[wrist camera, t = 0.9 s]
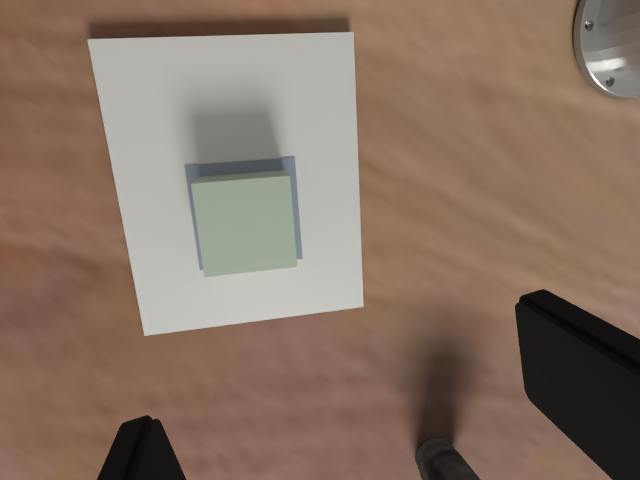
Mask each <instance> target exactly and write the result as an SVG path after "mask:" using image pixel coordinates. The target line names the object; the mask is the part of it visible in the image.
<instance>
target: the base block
mask: <svg viewBox="0 0 640 480" xmlns="http://www.w3.org/2000/svg"><path fill="white" fill-rule="evenodd" d="M191 188H192V195H193V202H194V209H195V216H196V223H197V230H198V237H199V244H200V250H201V257H202V264H203V271H204V277H212V276H221V275H230V274H239V273H247V272H256V271H265V270H274V269H282V268H291V267H297V256H296V244H295V231H294V219H293V206H292V194H291V181H290V175H289V174H288V173H287V172H286V171H284V170H278V171H265V172H253V173H240V174H227V175H214V176H201V177H198V178H197V179H196V180H195V181H193V182H192V183H191Z"/></svg>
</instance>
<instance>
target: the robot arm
mask: <svg viewBox="0 0 640 480" xmlns="http://www.w3.org/2000/svg"><path fill="white" fill-rule="evenodd" d="M574 49H575V55H576V60H577V62H578V65H579V67H580V70H581V72H582V74H583V75H584V77H585V78H586V80H587V81H588V82H589V83H590V84H591V85H592V86H593V87H594V88H595V89H596V90H598V91H599V92H601V93H603V94H604V95H607V96H610V97H614V98H633V97H640V0H581V1H580V3H579V7H578V10H577V14H576V17H575V25H574ZM515 312H516V321H517V329H518V338H519V346H520V355H521V363H522V372H523V380H524V388H525V392H526V394H527V396H528V398H529V399H530V401H531V402H532V403H533V404H534V405H535V406H536V407H537V408H538V409H539V410H540V411H541V412H542V413H543V414H544V415H545V416H546V417H547V418H549V419H550V420H551V421H552V422H553V423H554V424H555V425H556V426H557V427H558V428H559V429H560V430H561V431H562V432H563V433H564V434H565V435H566V436H567V437H568V438H570V439H571V440H572V441H573V442H574V443H575V444H576V445H577V446H578V447H579V448H580V449H581V450H582V451H583V452H584V453H585V454H586V455H587V456H588V457H589V458H591V459H592V460H593V461H594V462H595V463H596V464H597V465H598V466H599V467H600V468H601V469H602V470H603V471H604V472H605V473H606V474H607V475H608V476H609V477H610V478H612V479H613V480H640V339H638V338H636V337H634V336H632V335H630V334H628V333H626V332H625V331H623V330H621V329H619V328H617V327H615V326H613V325H611V324H609V323H608V322H606V321H604V320H602V319H600V318H598V317H596V316H594V315H592V314H590V313H589V312H587V311H585V310H583V309H581V308H579V307H577V306H575V305H573V304H571V303H570V302H568V301H566V300H564V299H562V298H560V297H558V296H556V295H554V294H553V293H551V292H549V291H547V290H544V289H542V290H538V291H535V292H532V293H529V294H526V295H522V296H521V297H520V300H519V303H517V304H516V306H515ZM97 480H186V478H185V476H184V474H183V471H182V469H181V467H180V464H179V462H178V460H177V458H176V455H175V453H174V451H173V449H172V446H171V444H170V442H169V439H168V437H167V435H166V433H165V430H164V428H163V426H162V424H161V422H160V420H159V419H154V420H152V418H151V417H150V416H148V415H146V416H143V417H140V418H137V419H134V420H130V421H127V422H124V423H123V424H122V425H121V426H120V428H119V431H118V433H117V435H116V437H115V440H114V442H113V444H112V447H111V449H110V451H109V453H108V456H107V458H106V460H105V463H104V465H103V467H102V469H101V472H100V474H99V476H98V478H97Z"/></svg>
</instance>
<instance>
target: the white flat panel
mask: <svg viewBox="0 0 640 480" xmlns="http://www.w3.org/2000/svg"><path fill="white" fill-rule="evenodd" d="M87 40H88V45H89V50H90V55H91V60H92V65H93V71H94V76H95V81H96V86H97V91H98V97H99V102H100V107H101V112H102V117H103V123H104V128H105V133H106V138H107V143H108V148H109V154H110V159H111V164H112V169H113V174H114V180H115V185H116V190H117V195H118V200H119V206H120V211H121V216H122V221H123V226H124V231H125V237H126V242H127V247H128V252H129V257H130V263H131V268H132V273H133V278H134V283H135V289H136V294H137V299H138V304H139V309H140V315H141V320H142V325H143V330H144V335H145V336H147V335H154V334H162V333H170V332H177V331H185V330H192V329H200V328H207V327H215V326H222V325H230V324H237V323H245V322H253V321H260V320H268V319H275V318H283V317H290V316H298V315H305V314H313V313H320V312H328V311H336V310H343V309H351V308H358V307H363V281H362V253H361V226H360V198H359V171H358V143H357V116H356V88H355V61H354V33H353V32H335V33H298V34H262V35H225V36H188V37H151V38H114V39H87ZM278 170H284V171H286V172H287V173H288V174H289V175H290V181H291V194H292V206H293V219H294V231H295V244H296V256H297V267H291V268H282V269H274V270H265V271H256V272H247V273H239V274H230V275H221V276H212V277H204V271H203V264H202V257H201V250H200V244H199V237H198V230H197V223H196V216H195V209H194V202H193V195H192V188H191V183H192V182H193V181H195V180H196V179H197V178H198V177H201V176H214V175H227V174H240V173H253V172H265V171H278Z"/></svg>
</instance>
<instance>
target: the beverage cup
mask: <svg viewBox="0 0 640 480" xmlns="http://www.w3.org/2000/svg"><path fill="white" fill-rule="evenodd" d="M415 459H416V463H417V465H418V469H419V471H420V475H421V478H422V480H480V479H479V477H478V476H477V475H476V474H475V472H474V471H473V470H472V469H471V467H470V466H469V465H468V464H467V463H466V461H465V460H464V459H463V458H462V456H461V455H460V454H459V453H458V452H457V451H456V450H455V449H454V448H453V447H452V445H451V444H450V443H449V442H448V441H447V440H446V439H443V438H433V439H430V440H428V441H426V442H424V443H423V444H422V445H421V446H420V447H419V449H418V450H417V452H416V456H415Z"/></svg>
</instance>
